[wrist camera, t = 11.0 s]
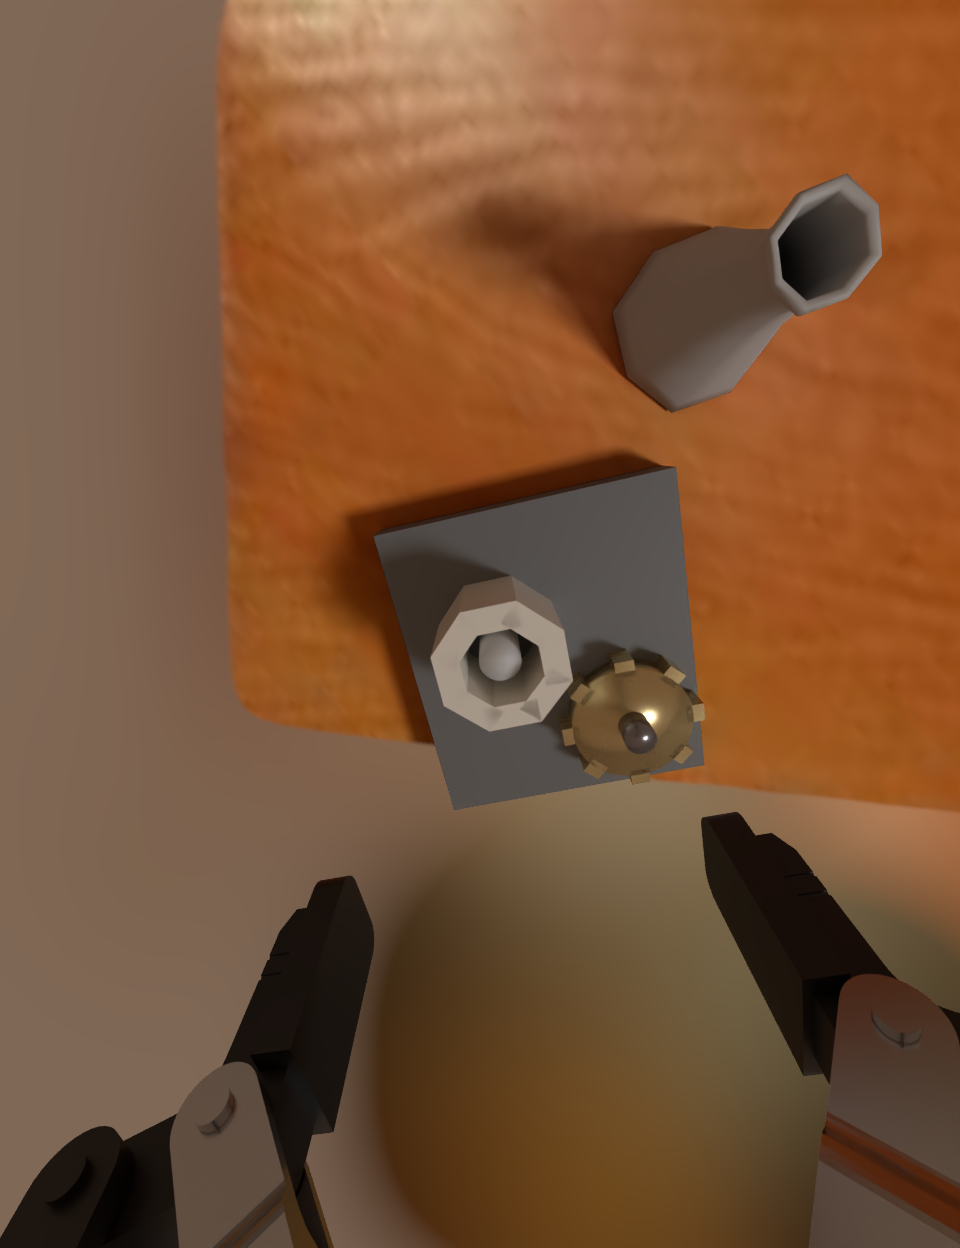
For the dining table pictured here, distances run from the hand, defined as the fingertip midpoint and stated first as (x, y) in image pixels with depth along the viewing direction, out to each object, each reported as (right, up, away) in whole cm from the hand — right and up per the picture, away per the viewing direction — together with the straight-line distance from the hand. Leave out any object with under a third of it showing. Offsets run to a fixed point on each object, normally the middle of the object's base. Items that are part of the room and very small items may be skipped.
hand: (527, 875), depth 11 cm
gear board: (+3, +4, +18) cm, 18 cm away
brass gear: (+7, +1, +17) cm, 18 cm away
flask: (+9, +20, +13) cm, 25 cm away
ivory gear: (0, +5, +15) cm, 16 cm away
